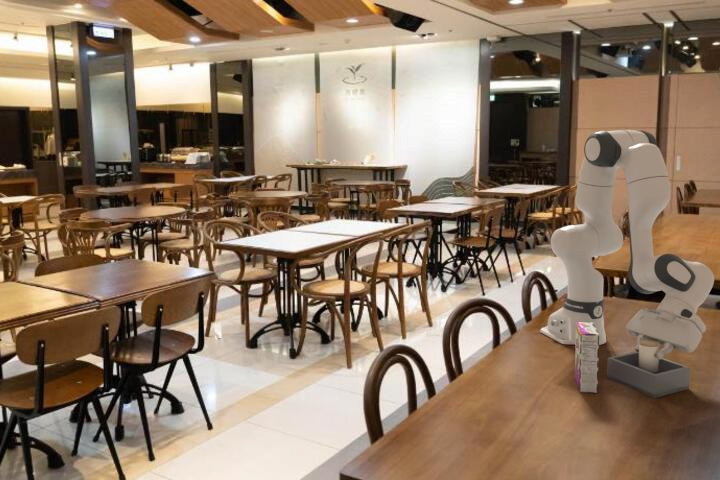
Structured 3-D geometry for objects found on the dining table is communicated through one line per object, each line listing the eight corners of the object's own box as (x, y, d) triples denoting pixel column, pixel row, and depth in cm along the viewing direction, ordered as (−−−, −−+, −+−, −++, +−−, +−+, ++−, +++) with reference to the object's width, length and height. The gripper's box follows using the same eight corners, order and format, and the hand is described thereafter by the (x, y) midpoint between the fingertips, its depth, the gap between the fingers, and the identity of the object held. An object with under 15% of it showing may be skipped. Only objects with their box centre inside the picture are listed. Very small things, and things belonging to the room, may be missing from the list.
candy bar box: (573, 377, 184) (575, 321, 181) (592, 378, 183) (594, 322, 180) (578, 392, 173) (580, 333, 171) (598, 393, 172) (600, 334, 170)
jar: (634, 368, 179) (635, 340, 178) (647, 365, 181) (648, 337, 180) (649, 373, 174) (650, 345, 173) (662, 370, 176) (663, 342, 175)
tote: (606, 378, 183) (607, 357, 182) (639, 370, 188) (640, 350, 187) (654, 398, 169) (655, 376, 168) (688, 388, 174) (690, 367, 173)
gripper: (637, 299, 187) (611, 337, 185) (701, 316, 169) (674, 358, 166) (648, 312, 190) (622, 350, 187) (712, 330, 172) (685, 372, 169)
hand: (647, 354), depth 177 cm, fingers closed on jar, 5 cm apart
